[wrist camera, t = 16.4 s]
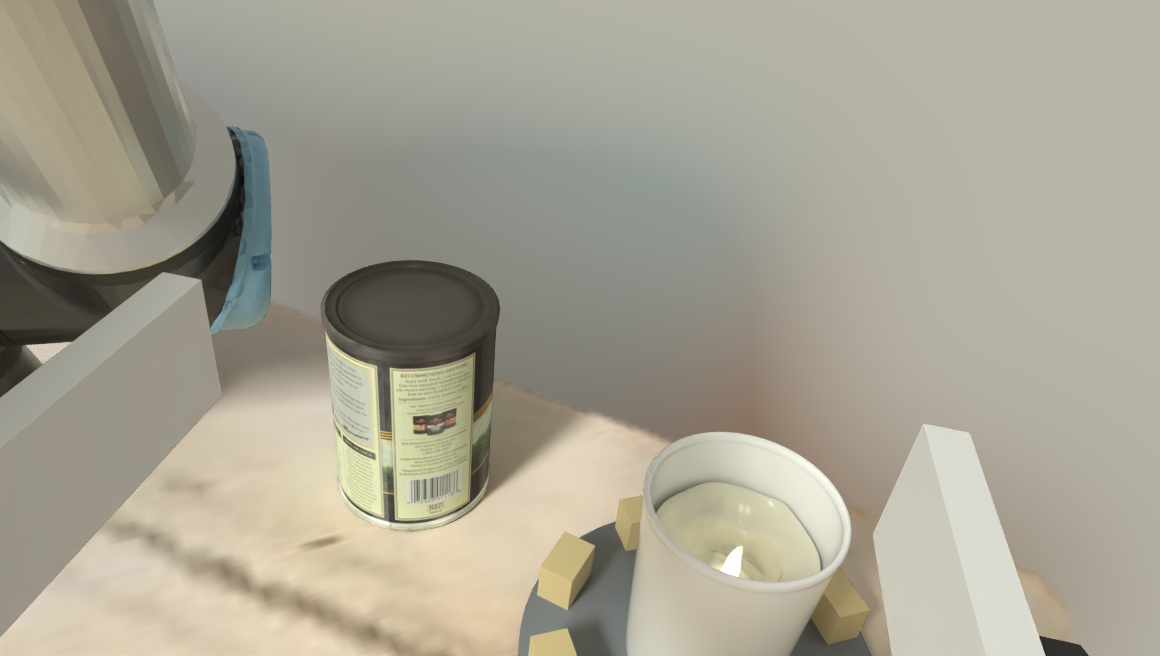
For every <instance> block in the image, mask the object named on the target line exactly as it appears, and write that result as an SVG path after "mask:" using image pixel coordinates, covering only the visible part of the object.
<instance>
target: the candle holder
mask: <svg viewBox="0 0 1160 656" xmlns="http://www.w3.org/2000/svg"><path fill="white" fill-rule="evenodd" d="M851 536H852V527H851V520H850V516H849V512H848V509H847V507H846V504H845V502H844V500H843V498H842V496H841V495H840V493H839V492H838V490H837V489H836V487H835V486H834V485H833V484H832V482H831V481H830V480H829V479H828V478H827V477H826V476H825V475H824V474H823V473H822V472H821V471H820V470H819V469H818V468H817V467H816V466H814V465H813V464H812V463H810V462H809V461H808V460H806V459H805V458H803V457H802V456H800V455H798V454H797V453H795V452H793V451H792V450H790V449H788V448H785V447H784V446H782V445H779V444H777V443H774V442H772V441H769V440H766V439H763V438H760V437H756V436H752V435H747V434H742V433H734V432H707V433H700V434H695V435H691V436H688V437H685V438H682V439H680V440H677V441H675V442H673V443H672V444H670V445H668V446H667V447H666V448H664V449H663V450H662V451H661V452H660V453H659V454H658V455H657V456H656V457H655V458H654V460H653V461H652V463H651V464H650V466H649V468H648V470H647V473H646V476H645V480H644V485H643V505H642V512H641V520H640V527H639V535H638V542H637V549H636V557H635V564H634V572H633V579H632V587H631V594H630V602H629V610H628V618H627V627H626V650H627V656H790V655H791V653H792V651H793V649H794V647H795V645H796V644H797V642H798V640H799V638H800V636H801V634H802V633H803V631H804V629H805V627H806V625H807V623H808V621H809V620H810V618H811V616H812V614H813V612H814V610H815V608H816V607H817V605H818V603H819V601H820V599H821V597H822V596H823V594H824V592H825V590H826V588H827V586H828V584H829V583H830V581H831V579H832V577H833V575H834V573H835V572H836V570H837V569H838V568H839V566H840V565H841V564H842V562H843V560H844V559H845V557H846V555H847V553H848V550H849V547H850V543H851Z"/></svg>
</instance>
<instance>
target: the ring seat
mask: <svg viewBox="0 0 1160 656" xmlns="http://www.w3.org/2000/svg"><path fill="white" fill-rule="evenodd" d="M642 505H643V496H638V497H632V498H626V499H620V503H619V508H618V513H617V519H616V522H613V523H610V524H608V525H605V526H602V527H600V528H597V529H595V530H593V531H591V532H589V533H587V534H586V535H584V536H582V537H580V538H578V537H575V536H573V535H571V534H569V533H567V532H565V533H564V534H563V535H562V537H561V538H560V540H559V541H558V543H557V544H556V545H555V547H554V548H553V550H552V551H551V552H550V554H549V555H548V557H547V558H546V560H545V561H544V562H543V564H542V565H541V567H540V575H539V579H538V581H537V583H536V584H535V586H534V588H533V589H532V592H531V594H530V597H529V599H528V602H527V604H526V607H525V611H524V615H523V619H522V624H521V629H520V638H519V650H518V656H627V650H626V627H627V618H628V610H629V602H630V594H631V587H632V579H633V572H634V564H635V557H636V549H637V542H638V535H639V527H640V520H641V512H642ZM869 612H870V609H869V608H868V606H867V605H866V603H865V602H864V601H863V599H862V598H861V596H860V595H859V594H858V592H857V591H856V589H855V588H854V587H853V585H852V584H851V582H850V581H849V580H848V578H847V577H846V575H845V574H844V573H843V571H842V570H841V568H838V569H837V570H836V572H835V573H834V575H833V577H832V579H831V581H830V583H829V584H828V586H827V588H826V590H825V592H824V594H823V596H822V597H821V599H820V601H819V603H818V605H817V607H816V608H815V610H814V612H813V614H812V616H811V618H810V620H809V621H808V623H807V625H806V627H805V629H804V631H803V633H802V634H801V636H800V638H799V640H798V642H797V644H796V645H795V647H794V649H793V651H792V653H791V655H790V656H871V654H870V651H869V649H868V647H867V645H866V643H865V641H864V638H863V636H862V634H861V632H860V630H861V628H862V626H863V624H864V622H865V620H866V618H867V616H868V614H869Z"/></svg>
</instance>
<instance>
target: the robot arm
mask: <svg viewBox="0 0 1160 656" xmlns="http://www.w3.org/2000/svg"><path fill="white" fill-rule="evenodd" d="M270 254H271V195H270V174H269V160H268V151H267V148H266V145H265V142H264V139H263V138H262V137H261V136H260V135H259V134H258V133H256V132H253V131H246V130H241V129H239V128H238V127H233V126H230V127H226V126H225V124H224V123H223V121H222V119H221V118H220V116H219V114H218V113H217V112H216V111H215V110H214V109H213V108H212V106H211V105H210V104H209V103H208V102H206V100H205V99H204V98H203V97H201V96H200V95H199V94H198V93H197V92H195V91H194V90H192V89H191V88H190V87H188V86H187V85H185V84H183V83H181V82H180V81H179V80H178V77H177V74H176V71H175V67H174V65H173V61H172V58H171V55H170V52H169V49H168V46H167V43H166V40H165V36H164V33H163V30H162V27H161V24H160V21H159V18H158V15H157V12H156V8H155V5H154V2H153V0H0V637H1V636H2V635H3V634H4V633H5V632H6V631H7V629H8V628H9V627H10V626H11V625H12V624H13V623H14V622H15V621H16V620H17V619H18V617H19V616H20V615H21V614H22V613H23V612H24V611H25V610H26V609H27V608H28V607H29V605H30V604H31V603H32V602H33V601H34V600H35V599H36V598H37V597H38V596H39V595H40V593H41V592H42V591H43V590H44V589H45V588H46V587H47V586H48V585H49V584H50V583H51V582H52V580H53V579H54V578H55V577H56V576H57V575H58V574H59V573H60V572H61V571H62V570H63V568H64V567H65V566H66V565H67V564H68V563H69V562H70V561H71V560H72V559H73V558H74V556H75V555H76V554H77V553H78V552H79V551H80V550H81V549H82V548H83V547H84V546H85V544H86V543H87V542H88V541H89V540H90V539H91V538H92V537H93V536H94V535H95V534H96V532H97V531H98V530H99V529H100V528H101V527H102V526H103V525H104V524H105V523H106V522H107V521H108V519H109V518H110V517H111V516H112V515H113V514H114V513H115V512H116V511H117V510H118V509H119V507H120V506H121V505H122V504H123V503H124V502H125V501H126V500H127V499H128V498H129V497H130V495H131V494H132V493H133V492H134V491H135V490H136V489H137V488H138V487H139V486H140V485H141V483H142V482H143V481H144V480H145V479H146V478H147V477H148V476H149V475H150V474H151V473H152V472H153V470H154V469H155V468H156V467H157V466H158V465H159V464H160V463H161V462H162V461H163V460H164V458H165V457H166V456H167V455H168V454H169V453H170V452H171V451H172V450H173V449H174V448H175V446H176V445H177V444H178V443H179V442H180V441H181V440H182V439H183V438H184V437H185V436H186V434H187V433H188V432H189V431H190V430H191V429H192V428H193V427H194V426H195V425H196V424H197V422H198V421H199V420H200V419H201V418H202V417H203V416H204V415H205V414H206V413H207V412H208V411H209V409H210V408H211V407H212V406H213V405H214V404H215V403H216V402H217V401H218V400H219V399H220V397H221V396H222V392H221V386H220V381H219V375H218V370H217V364H216V359H215V353H214V348H213V342H212V337H211V336H212V335H213V334H216V333H217V332H220V331H229V330H239V329H246V328H250V327H253V326H255V325H257V324H258V323H260V322H261V321H262V320H263V318H264V317H265V316H266V314H267V312H268V309H269V305H270V296H271V259H270ZM63 342H72V343H70V344H69V345H68V346H66V347H65V348H64V349H63V350H61V351H60V352H59V353H57V354H56V355H55V356H54V357H52V358H51V359H50V360H48V361H47V362H46V363H44V364H42V363H41V362H40V361H39V359H38V358H37V357H36V356H35V355H34V354H33V353H32V352H31V351H30V350H29V348H28V347H27V346H26V345H32V344H47V343H63ZM873 540H874V546H875V552H876V559H877V565H878V571H879V578H880V584H881V590H882V596H883V603H884V609H885V615H886V622H887V628H888V634H889V641H890V647H891V653H892V656H1088V654H1087V653H1086V652H1085V650H1084V649H1083V648H1082V647H1081V645H1078V644H1074V643H1069V642H1065V641H1060V640H1055V639H1051V638H1046V637H1042V636H1039V635H1038V632H1037V629H1036V626H1035V623H1034V621H1033V618H1032V615H1031V612H1030V609H1029V606H1028V603H1027V600H1026V597H1025V594H1024V591H1023V588H1022V585H1021V582H1020V579H1019V576H1018V574H1017V571H1016V568H1015V565H1014V562H1013V559H1012V556H1011V553H1010V550H1009V547H1008V544H1007V541H1006V539H1005V536H1004V532H1003V530H1002V527H1001V524H1000V521H999V518H998V515H997V512H996V509H995V506H994V503H993V500H992V497H991V494H990V491H989V488H988V486H987V483H986V480H985V477H984V474H983V471H982V468H981V465H980V462H979V459H978V456H977V453H976V450H975V448H974V445H973V442H972V439H971V436H970V433H968V432H962V431H957V430H952V429H947V428H942V427H937V426H933V425H927V424H923V426H922V428H921V430H920V432H919V434H918V437H917V439H916V441H915V443H914V445H913V447H912V450H911V452H910V454H909V456H908V458H907V460H906V463H905V465H904V467H903V469H902V471H901V474H900V476H899V478H898V480H897V482H896V484H895V487H894V489H893V491H892V493H891V495H890V498H889V500H888V502H887V504H886V506H885V509H884V511H883V513H882V515H881V517H880V519H879V522H878V524H877V526H876V528H875V530H874V533H873Z"/></svg>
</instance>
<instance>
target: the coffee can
mask: <svg viewBox="0 0 1160 656" xmlns="http://www.w3.org/2000/svg"><path fill="white" fill-rule="evenodd" d="M499 312H500V306H499V300H498V298H497V295H496V293H495V292H494V290H493V289H492V288H491V287H490V285H489V284H487V283H486V282H485V281H484V280H482V279H481V278H479V277H478V276H476V275H474V274H472V273H471V272H468V271H466V270H464V269H461V268H458V267H455V266H451V265H447V264H443V263H437V262H429V261H418V260H416V261H414V260H412V261H411V260H407V261H392V262H385V263H380V264H375V265H371V266H368V267H364V268H362V269H359V270H357V271H354V272H352V273H349V274H348V275H346V276H344V277H342V278H341V279H339V280H338V281H337V282H335V283H334V284H333V285H332V286H331V287H330V288H329V289H328V291H327V292H326V293H325V296H324V297H323V300H322V304H321V316H322V322H323V325H324V328H325V334H326V345H327V356H328V367H329V376H330V387H331V398H332V409H333V420H334V430H335V442H336V453H337V463H338V488H339V491H340V494H341V497H342V499H343V500H344V502H345V504H346V505H347V506H348V507H349V508H350V509H351V510H352V511H353V512H354V513H355V514H356V515H357V516H358V517H360V518H362V519H364V520H366V521H368V522H369V523H372V524H374V525H376V526H379V527H383V528H387V529H392V530H400V531H417V530H424V529H431V528H435V527H439V526H442V525H445V524H448V523H450V522H452V521H454V520H456V519H458V518H460V517H461V516H463V515H464V514H466V513H468V512H469V511H470V510H471V509H472V508H473V507H474V506H475V505H476V504H477V503H478V502H479V501H480V499H481V498H482V497H483V495H484V493H485V491H486V489H487V486H488V482H489V475H490V470H489V449H490V432H491V413H492V393H493V376H494V358H495V339H496V327H497V323H498V320H499Z"/></svg>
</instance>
